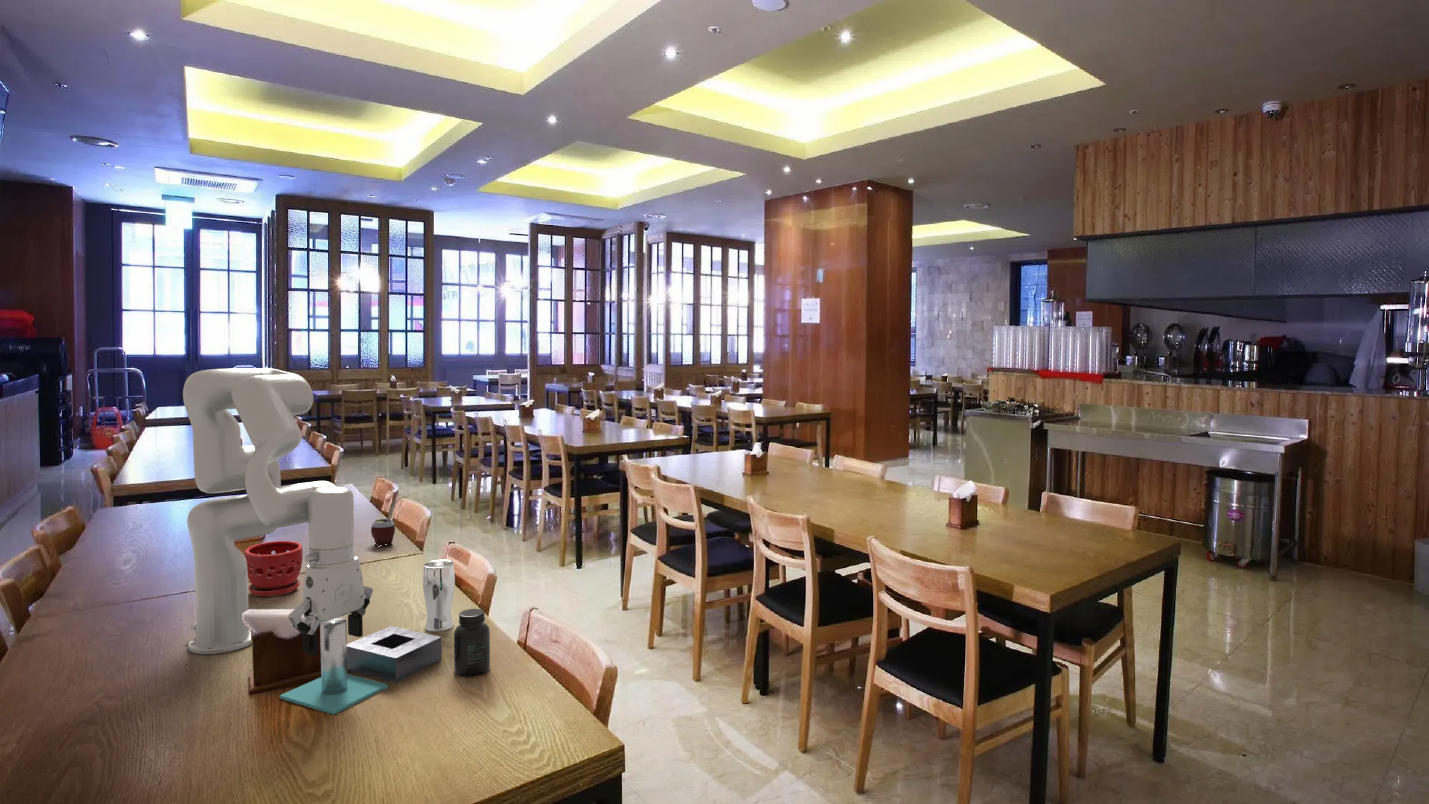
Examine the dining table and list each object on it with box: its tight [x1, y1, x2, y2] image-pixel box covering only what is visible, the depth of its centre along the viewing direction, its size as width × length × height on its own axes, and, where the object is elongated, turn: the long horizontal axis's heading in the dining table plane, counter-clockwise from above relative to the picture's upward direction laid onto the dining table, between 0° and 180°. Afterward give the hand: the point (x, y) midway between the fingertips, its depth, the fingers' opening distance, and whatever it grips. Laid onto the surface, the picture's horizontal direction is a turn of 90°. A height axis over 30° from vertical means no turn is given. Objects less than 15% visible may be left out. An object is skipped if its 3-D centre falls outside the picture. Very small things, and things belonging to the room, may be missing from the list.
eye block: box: [347, 625, 443, 684], centre depth 157 cm, size 14×12×5 cm
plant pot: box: [244, 540, 304, 598], centre depth 200 cm, size 13×13×12 cm
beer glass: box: [422, 559, 456, 633], centre depth 177 cm, size 7×7×15 cm
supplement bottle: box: [453, 608, 491, 678], centre depth 154 cm, size 7×7×12 cm
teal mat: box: [279, 673, 389, 715], centre depth 144 cm, size 14×12×1 cm
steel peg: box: [319, 617, 348, 695], centre depth 144 cm, size 4×4×13 cm
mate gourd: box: [370, 497, 402, 546], centre depth 248 cm, size 8×8×15 cm
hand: (333, 644), depth 143 cm, fingers open, 9 cm apart
